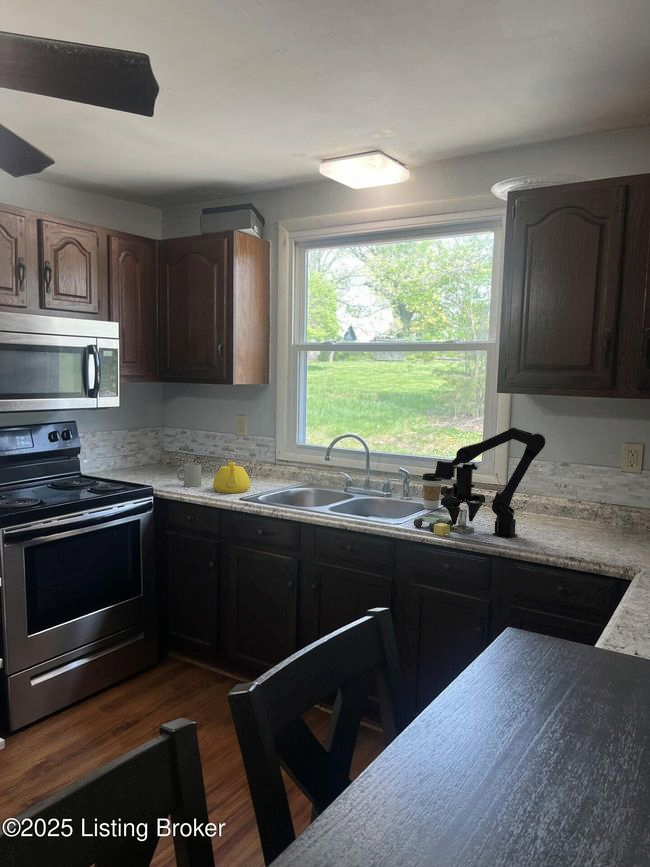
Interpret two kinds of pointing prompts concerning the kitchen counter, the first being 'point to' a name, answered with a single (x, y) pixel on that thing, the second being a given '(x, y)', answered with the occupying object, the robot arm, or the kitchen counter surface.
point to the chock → (441, 529)
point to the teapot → (231, 479)
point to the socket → (460, 530)
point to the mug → (191, 474)
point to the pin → (462, 518)
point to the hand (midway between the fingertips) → (462, 523)
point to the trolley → (431, 520)
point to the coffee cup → (431, 490)
